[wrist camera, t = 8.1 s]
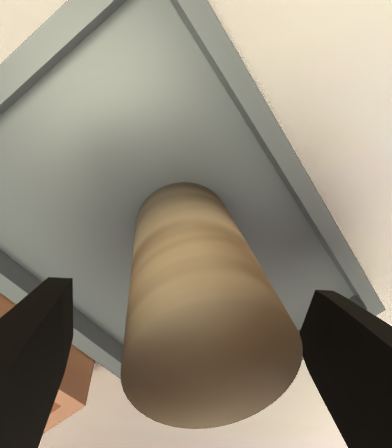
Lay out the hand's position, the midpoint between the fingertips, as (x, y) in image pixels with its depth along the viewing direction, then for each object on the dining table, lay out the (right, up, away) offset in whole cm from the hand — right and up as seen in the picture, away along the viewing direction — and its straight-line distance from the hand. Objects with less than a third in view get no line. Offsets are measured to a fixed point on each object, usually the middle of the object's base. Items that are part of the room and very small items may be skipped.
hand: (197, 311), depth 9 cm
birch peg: (-1, +2, +5) cm, 6 cm away
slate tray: (-1, +2, +6) cm, 7 cm away
